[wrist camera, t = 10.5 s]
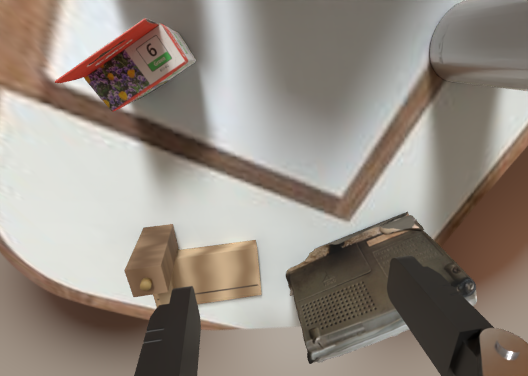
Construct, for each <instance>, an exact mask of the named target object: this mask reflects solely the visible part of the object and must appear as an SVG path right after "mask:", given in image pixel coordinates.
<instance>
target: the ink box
mask: <svg viewBox="0 0 528 376" xmlns="http://www.w3.org/2000/svg"><path fill="white" fill-rule="evenodd" d="M195 62H196V59H195V58H194V56H193V55H192V53H191V51H190V50H189V48H188V47H187V45H186V43H185V42H184V40H183V39H182V37H181V36H180V34H179V33H178V32H176V31H174V30H172V29H170V28H169V27H167V26H165V25H163V24H161V23H159V24H158V23H156V22H153V21H151V20H149V19H147V18H144V19H142V20H141V21H140V22H138V23H137V24H135V25H134V26H133V27H131V28H130V29H128V30H127V31H126V32H124V33H123V34H121V35H120V36H119V37H117V38H116V39H114V40H113V41H111V42H110V43H108V44H106V45H105V46H104V47H102V48H101V49H99V50H98V51H96V52H95V53H94V54H92V55H91V56H89V57H88V58H87V59H85V60H84V61H83V62H81V63H80V64H78V65H77V66H76V67H74V68H73V69H71V70H70V71H69V72H67V73H66V74H64V75H63V76H61V77H60V78H59V79H57V80H56V81H55V83H63V82H68V81H72V80H76V79H79V78H83V77H84V78H85V80H86V81H87V82H88V83H89V85H90V86H91V87H92V88H93V89H94V91H95V92H96V93H97V94H98V96H99V97H100V98H101V99H102V100H103V101H104V103H105V104H106V105H107V106H108V107H109V109H110V110H111V111H116V110H118V109H120V108H122V107H123V106H125V105H127V104H129V103H131V102H133V101H135V100H137V99H139V98H142V97H143V96H145V95H147V94H148V93H150V92H152V91H154V90H155V89H157V88H158V87H160V86H161V85H163V84H165V83H166V82H167V81H169V80H170V79H172V78H173V77H175V76H176V75H178V74H179V73H180V72H182V71H183V70H185V69H186V68H187V67H189V66H190V65H192V64H193V63H195Z"/></svg>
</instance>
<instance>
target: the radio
mask: <svg viewBox="0 0 528 376" xmlns="http://www.w3.org/2000/svg"><path fill="white" fill-rule="evenodd" d="M423 230H424V229H423V227H422V226H421V225H420V224H419V223H418V222H417V220H416V219H415V218H414V217H413V216H411V215H409V214H408V212H406V213H403V214H401V215H398V216H396V217H393V218H391V219H388V220H386V221H383V222H381V223H378V224H376V225H373V226H371V227H368V228H366V229H363V230H361V231H358V232H356V233H353V234H351V235H348V236H346V237H343V238H341V239H338V240H336V241H333V242H331V243H328V244H326V245H323V246H321V247H318V248H316V249H314V251H313V252H311V253H309V256H308V258H307V259H306V260H305V261H304V262H302V263H301V264H299V265H297V266H294V267H292V268H290V269H288V270H287V272H286V279H287V281H288V284H289V288H290V290H291V293H290V296H291V295H294V300H295V304H296V308H297V312H298V317H299V320H300V323H301V327H302V331H303V337H304V341H305V345H306V348H307V351H308V353H307V358H308V361H309V363H310V364H311V363H313V362H323V361H325V360H327V359H330V358H334V357H338V356H341V355H343V354H346V353H349V352H351V351H355V350H357V349H359V348H362V347H365V346H368V345H372V344H374V343H376V342H379V341H381V340H384V339H386V338H388V337H390V336H397V335H399V334H400V333H401V332H404V331H406V330H409V328H408V326H407V325H406V323H405V322H404V320H403V319H402V317H401V316H400V314H399V313H398V312H397V310H396V309H395V307H394V306H393V304H392V303H391V301H390V299H389V296H388V293H387V282H388V274H389V267H390V261H391V259H392V258H395V257H402V256H409V255H411V256H413V257H415V258H416V259H417V261H418V262H419V263H420V264H421V265H422V266H423V267H426V266H428V267H429V268H431V269H433V270H435V271H436V272H438V273H440V274H441V275H442V276H443V277H444V278H445V279H446V280H447V281H448V282H449V283H450V284H451V286H453V287H454V288H455V289H456V290H457V291H458V292H459V294H460V295H462V296H463V297H464V298H465V299H466V300H467V301H468V302H469V303H470V304H471V305H472V306H474V305H475V304H476V302H477V296H476V284H475V282H474V281H473V280H472V279H471V278H470V277H469V276H468V275H467V274H466V273H465V272H464V271H463V269H461V268H460V266H459V265H458V264H457V263H456V262H455V261H454V260H453V259H451V257H450V256H449V255H448V254H447V253H446V252H445V251H444V250H443V249H442V248H441V247H440V246H439V245H438V244H437V243H436V242H435V241H434V240H433V239H432V238H431V237H430V236H429V235H428V234H427V233H425V232H424V231H423Z"/></svg>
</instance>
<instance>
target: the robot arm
mask: <svg viewBox="0 0 528 376" xmlns="http://www.w3.org/2000/svg"><path fill="white" fill-rule="evenodd" d="M430 59H431V64H432V66H433V69H434V70H435V72H436V73H437V75H439V76H440V77H441V78H442V79H444V80H446V81H450V82H458V83H466V84H473V85H481V86H489V87H497V88H506V89H514V90H523V91H528V0H466V1H463V2H461V3H459V4H457V5H455V6H454V7H453V8H452V9H450V10H449V11H448V12H447V13H446V14H445V16H444V17H443V18H442V19H441V21H440V22H439V24H438V25H437V27H436V29H435V32H434V34H433V37H432V41H431V45H430ZM387 293H388V296H389V299H390V301H391V303H392V304H393V306H394V307H395V309H396V310H397V312H398V313H399V314H400V316H401V317H402V319H403V320H404V322H405V323H406V325H407V326H408V328H409V329H410V331H411V332H412V333H413V335H414V336H415V338H416V339H417V341H418V342H419V344H420V345H421V347H422V348H423V350H424V351H425V352H426V354H427V355H428V357H429V358H430V360H431V361H432V363H433V364H434V366H435V367H436V369H437V370H438V372H439V373H440V374H441V376H528V343H527V342H526V341H524V340H523V339H522V338H520V337H519V336H517V335H515V334H513V333H511V332H509V331H506V330H503V329H499V328H494V327H493V326H492V325H491V324H490V323H489V322H488V321H487V320H486V319H485V318H484V317H483V316H482V315H481V314H480V313H479V312H478V311H477V310H476V309H475V308H474V307H473V306H472V305H471V304H470V303H469V302H468V301H467V300H466V299H465V298H464V297H463V296H462V295H460V294H459V292H458V291H457V290H456V289H455V288H454V287H453V286H451V284H450V283H449V282H448V281H447V280H446V279H445V278H444V277H443V276H442V275H441V274H440V273H438V272H436V271H435V270H433V269H431V268H429V267H428V266H426V267H423V266H422V265H421V264H420V263H419V262H418V261H417V259H416V258H415V257H413V256H411V255H409V256H402V257H395V258H392V259H391V261H390V267H389V274H388V282H387ZM200 331H201V324H200V314H199V310H198V305H197V301H196V296H195V292H194V288H193V286H188V287H181V288H174V289H173V290H172V292H171V297H170V302H169V304H163V305H159V306H158V307H157V309H156V310H155V311H154V313H153V314H152V316H151V317H150V320H149V324H148V327H147V333H146V335H145V338H144V344H143V346H142V349H141V353H140V357H139V361H138V364H137V368H136V372H135V375H134V376H197V369H198V357H199V344H200Z"/></svg>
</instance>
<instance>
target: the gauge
mask: <svg viewBox="0 0 528 376" xmlns="http://www.w3.org/2000/svg"><path fill="white" fill-rule="evenodd" d="M177 250H178V244H177V240H176V236H175V231H174V227H173V224H170V225H162V226H154V227H146V228H143V230H142V233H141V235H140V237H139V239H138V242H137V244H136V246H135V248H134V250H133V253H132V255H131V257H130V259H129V262H128V264H127V266H126V268H125V270H124V271H125V274H126V276H127V279H128V282H129V285H130V288H131V291H132V294H133V297H138V296H145V295H152V294H158V297H159V300H160V304H161V305H163V304H169V302H170V297H171V292H172V290H173V289H174V288H175V285H174V282H173V278H172V273H173V268H174V264H175V259H176V255H177Z"/></svg>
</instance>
